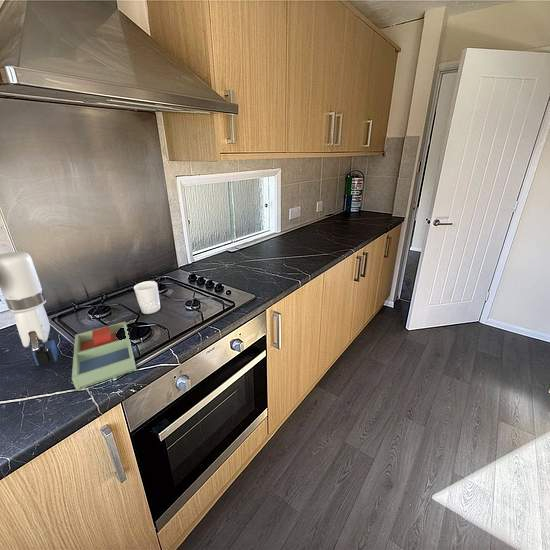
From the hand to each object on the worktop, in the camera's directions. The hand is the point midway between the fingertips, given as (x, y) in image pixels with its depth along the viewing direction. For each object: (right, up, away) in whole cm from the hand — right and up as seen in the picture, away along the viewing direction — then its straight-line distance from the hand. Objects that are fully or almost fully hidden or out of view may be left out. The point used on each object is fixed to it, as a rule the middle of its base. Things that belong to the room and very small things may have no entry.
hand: (47, 358), depth 82 cm
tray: (+14, -1, +3) cm, 15 cm away
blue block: (0, 0, 0) cm, 0 cm away
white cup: (+17, +10, +28) cm, 34 cm away
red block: (+12, +2, +7) cm, 14 cm away
